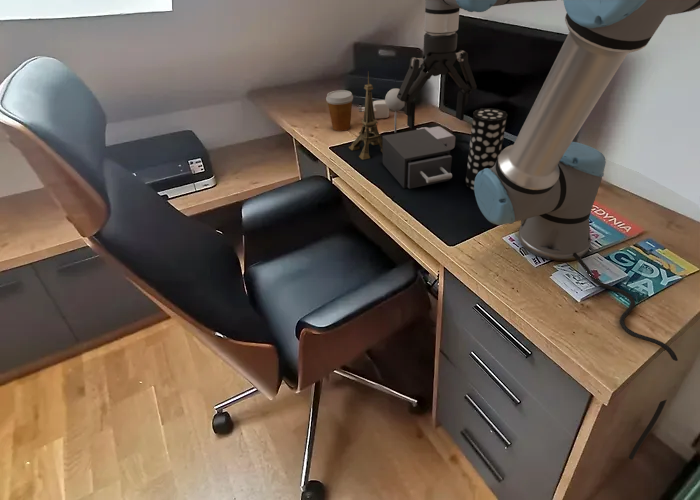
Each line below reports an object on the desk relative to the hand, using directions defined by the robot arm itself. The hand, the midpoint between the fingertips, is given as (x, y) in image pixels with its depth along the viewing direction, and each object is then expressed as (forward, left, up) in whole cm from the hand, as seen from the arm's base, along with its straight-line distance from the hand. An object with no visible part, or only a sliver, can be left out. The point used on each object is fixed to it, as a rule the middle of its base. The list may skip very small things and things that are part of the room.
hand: (435, 122), depth 117 cm
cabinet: (+11, 0, -19) cm, 22 cm away
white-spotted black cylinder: (-3, -14, -19) cm, 24 cm away
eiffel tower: (+30, +7, -19) cm, 36 cm away
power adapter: (+56, -4, -19) cm, 59 cm away
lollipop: (+40, -6, -19) cm, 45 cm away
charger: (+27, -13, -19) cm, 35 cm away
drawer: (+5, 0, -18) cm, 19 cm away
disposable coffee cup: (+52, +10, -19) cm, 56 cm away
